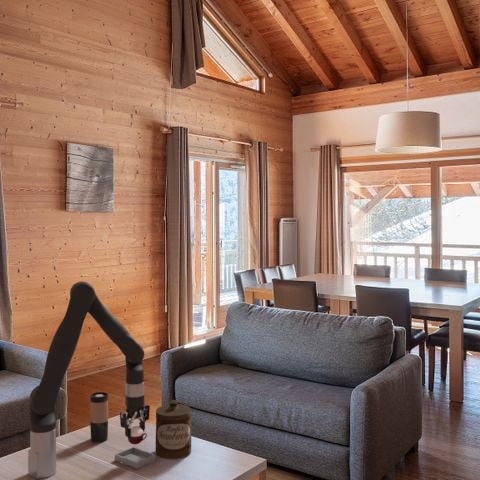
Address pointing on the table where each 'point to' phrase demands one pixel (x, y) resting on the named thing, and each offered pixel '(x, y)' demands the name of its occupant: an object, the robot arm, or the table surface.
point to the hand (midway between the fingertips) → (135, 434)
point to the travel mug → (99, 416)
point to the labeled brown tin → (173, 431)
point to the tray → (135, 457)
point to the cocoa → (136, 435)
